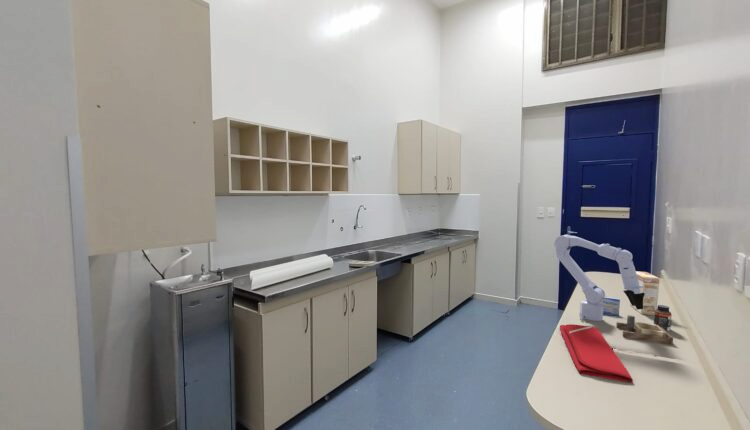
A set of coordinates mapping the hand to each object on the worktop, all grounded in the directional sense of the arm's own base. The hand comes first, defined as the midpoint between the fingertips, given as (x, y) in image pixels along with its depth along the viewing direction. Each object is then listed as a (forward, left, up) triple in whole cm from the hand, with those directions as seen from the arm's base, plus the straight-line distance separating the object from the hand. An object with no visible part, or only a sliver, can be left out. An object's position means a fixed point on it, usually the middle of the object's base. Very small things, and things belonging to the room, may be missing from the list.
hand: (637, 307), depth 153 cm
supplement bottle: (+11, +6, -11) cm, 17 cm away
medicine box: (-6, +21, -11) cm, 24 cm away
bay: (-1, -8, -11) cm, 14 cm away
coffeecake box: (+12, +36, -11) cm, 39 cm away
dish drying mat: (-23, -33, -12) cm, 42 cm away
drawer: (+1, -8, -10) cm, 13 cm away
